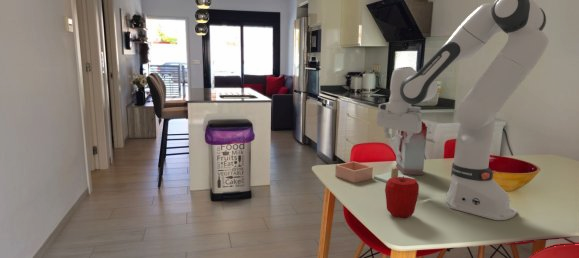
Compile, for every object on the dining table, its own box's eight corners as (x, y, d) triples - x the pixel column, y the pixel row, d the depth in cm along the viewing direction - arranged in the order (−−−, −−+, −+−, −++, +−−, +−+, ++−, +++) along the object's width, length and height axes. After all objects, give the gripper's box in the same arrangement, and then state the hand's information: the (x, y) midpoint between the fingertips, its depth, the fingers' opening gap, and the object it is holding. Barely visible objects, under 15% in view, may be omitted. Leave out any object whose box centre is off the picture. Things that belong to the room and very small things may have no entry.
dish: (372, 179, 160) (372, 167, 159) (353, 184, 154) (354, 171, 153) (353, 173, 169) (353, 161, 168) (335, 177, 162) (335, 165, 161)
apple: (408, 208, 129) (411, 170, 127) (422, 221, 119) (426, 180, 117) (378, 209, 128) (381, 171, 125) (390, 222, 118) (393, 181, 115)
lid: (415, 180, 158) (416, 169, 157) (397, 186, 151) (397, 174, 150) (391, 173, 167) (392, 162, 166) (373, 178, 160) (374, 167, 159)
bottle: (425, 176, 166) (431, 109, 160) (401, 176, 166) (407, 108, 160) (415, 167, 180) (420, 105, 175) (393, 167, 180) (398, 104, 175)
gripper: (426, 109, 147) (423, 144, 150) (385, 103, 163) (382, 135, 166) (417, 110, 143) (413, 146, 146) (375, 104, 159) (373, 136, 162)
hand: (396, 140), depth 156 cm, fingers open, 8 cm apart
